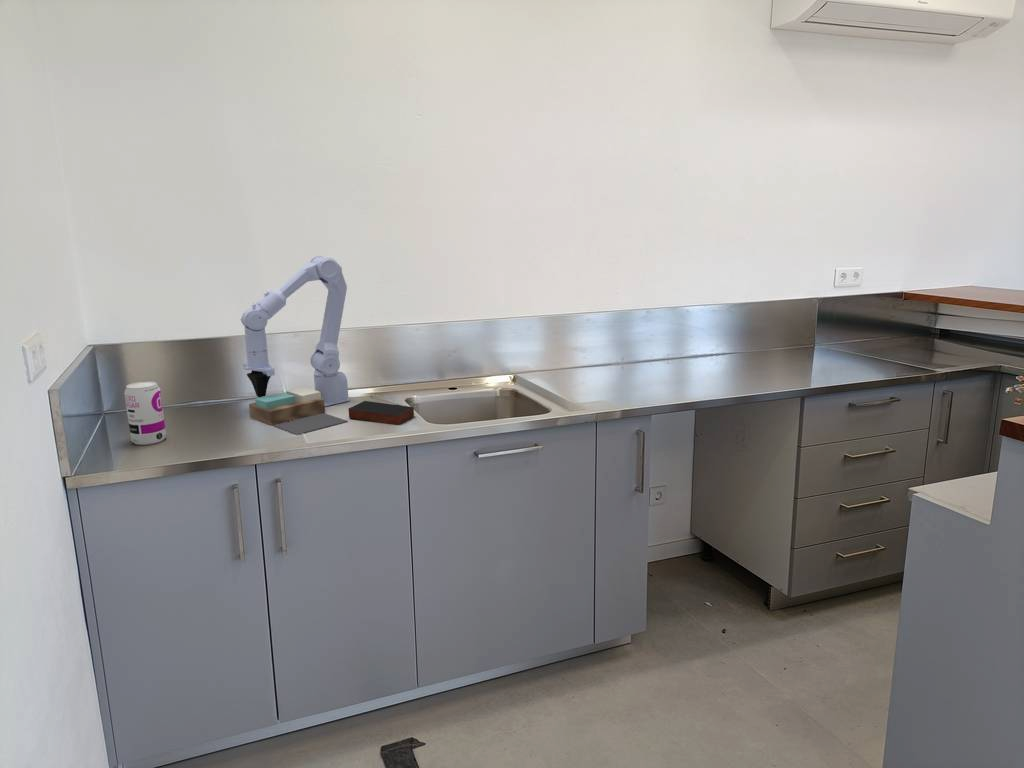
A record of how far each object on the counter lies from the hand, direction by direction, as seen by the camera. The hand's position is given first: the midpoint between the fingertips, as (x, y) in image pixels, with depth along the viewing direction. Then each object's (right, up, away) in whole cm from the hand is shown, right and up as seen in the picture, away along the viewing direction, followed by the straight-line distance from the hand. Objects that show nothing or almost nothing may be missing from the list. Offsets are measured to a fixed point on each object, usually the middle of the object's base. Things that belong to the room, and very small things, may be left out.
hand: (261, 396), depth 213 cm
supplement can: (-21, -11, -23) cm, 33 cm away
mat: (+17, -8, -11) cm, 22 cm away
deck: (+8, -5, -2) cm, 10 cm away
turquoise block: (+6, -2, -5) cm, 8 cm away
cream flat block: (+12, -1, +1) cm, 12 cm away
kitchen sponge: (+33, -6, -9) cm, 35 cm away
